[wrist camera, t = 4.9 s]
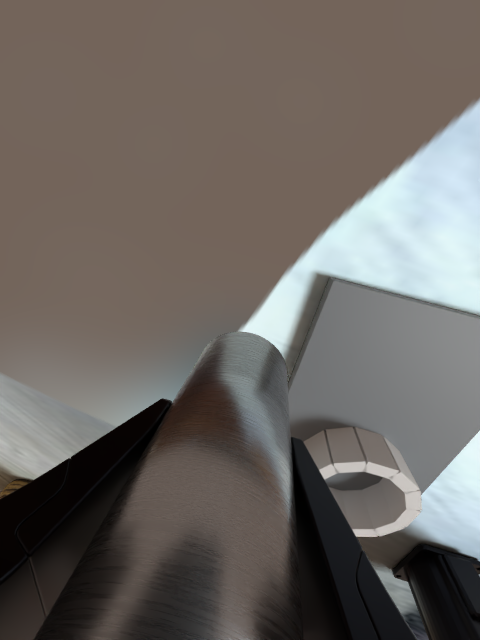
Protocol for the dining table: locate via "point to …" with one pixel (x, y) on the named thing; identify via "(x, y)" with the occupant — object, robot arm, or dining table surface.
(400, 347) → the duct plate
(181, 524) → the brushed steel cylinder
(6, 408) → the dining table surface
